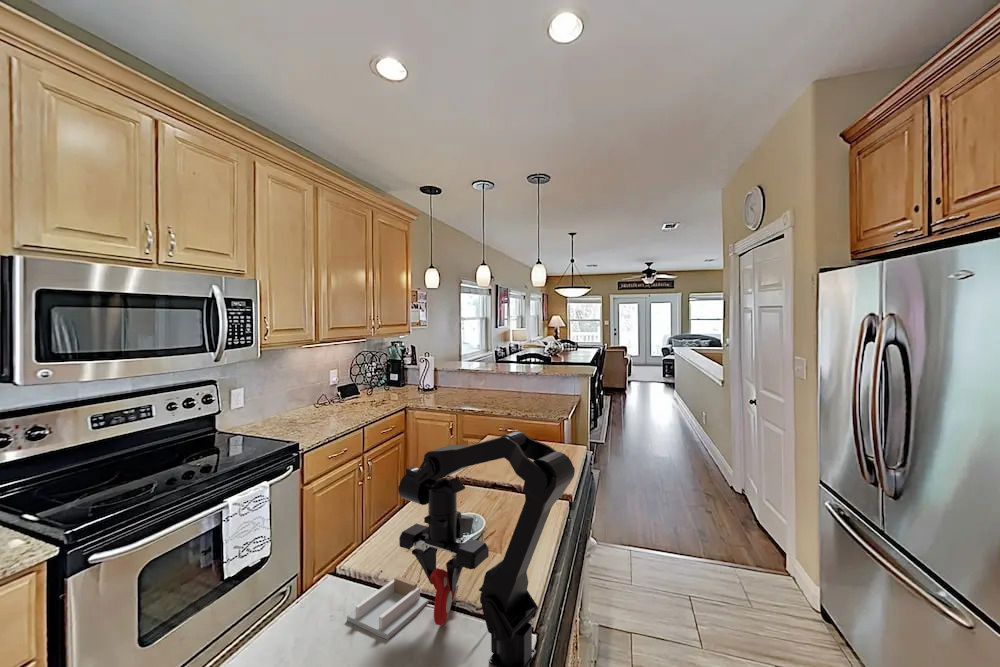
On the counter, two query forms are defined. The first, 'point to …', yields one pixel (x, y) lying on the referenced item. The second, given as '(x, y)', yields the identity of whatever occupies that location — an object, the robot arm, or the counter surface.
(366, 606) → the grey walled tray
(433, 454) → the robot arm
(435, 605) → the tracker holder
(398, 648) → the counter surface
